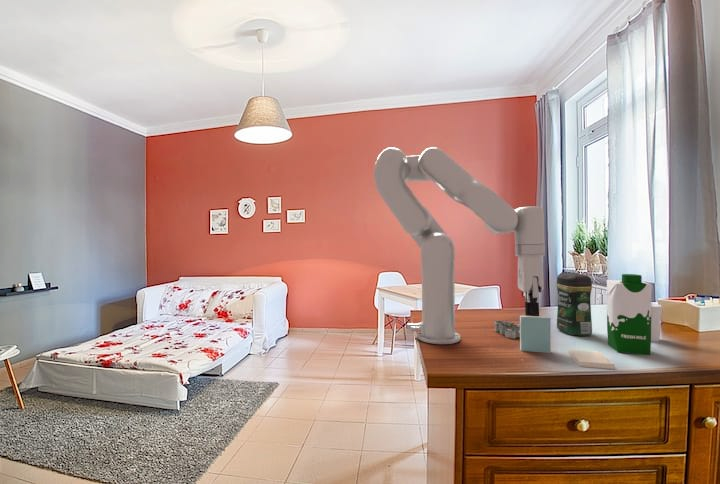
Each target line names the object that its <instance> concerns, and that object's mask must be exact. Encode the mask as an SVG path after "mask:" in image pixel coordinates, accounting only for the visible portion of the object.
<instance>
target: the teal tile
mask: <svg viewBox="0 0 720 484" xmlns="http://www.w3.org/2000/svg"><path fill="white" fill-rule="evenodd" d="M519 325H520V337H519V349H520V351H521V352H533V353H534V352H535V353H536V352H537V353H548V354H549V353H550V354H551V352H552V351H551V317H549V316H540V315H539V316H526V315H519Z"/></svg>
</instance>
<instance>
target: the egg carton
mask: <svg viewBox="0 0 720 484" xmlns="http://www.w3.org/2000/svg"><path fill="white" fill-rule="evenodd" d="M493 322H494V331H495V332H498V333H499V334H500V335H504V336H505V338H510V339H516V338H520V323H519V324H518V323H514V322H513V321H510V322H508V321H507V320H495V319H493Z"/></svg>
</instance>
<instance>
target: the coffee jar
mask: <svg viewBox="0 0 720 484" xmlns="http://www.w3.org/2000/svg"><path fill="white" fill-rule="evenodd" d="M592 281H593V280H592V278H591V277H590V276H589V275H585V274H580V273H576V272H575V273H574V272H561V273H559V274H558V275H557V277H556V290H557V314H556V328H557V329H558V330H559V331H561V332H563V333H564V334H565V333H566V334H568V335H571V336H579V337H588V336H589V335H592V334H593V321H592V320H593V319H592V308H591V307H592V304H591V296H592V290H593V282H592Z"/></svg>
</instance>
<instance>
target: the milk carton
mask: <svg viewBox="0 0 720 484" xmlns="http://www.w3.org/2000/svg"><path fill="white" fill-rule="evenodd" d="M642 279H643V278H642V275H641V274H635V273H633V274H632V273H623V274H621V280H620V279H619V280H618V279H615V280H614V279H606V328H607V329H606V330H607V332H606V333H607V344H608V345H609V347H610V348H612V349H614V350H615V352H617V353H624V354H625V353H626V354H636V355H646V356H647V355H648V356H650V355H651V351H652V349H651V346H652V342H651V303H652V293H653V284H652V283H649V282H646V281H644V280H642Z"/></svg>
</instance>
